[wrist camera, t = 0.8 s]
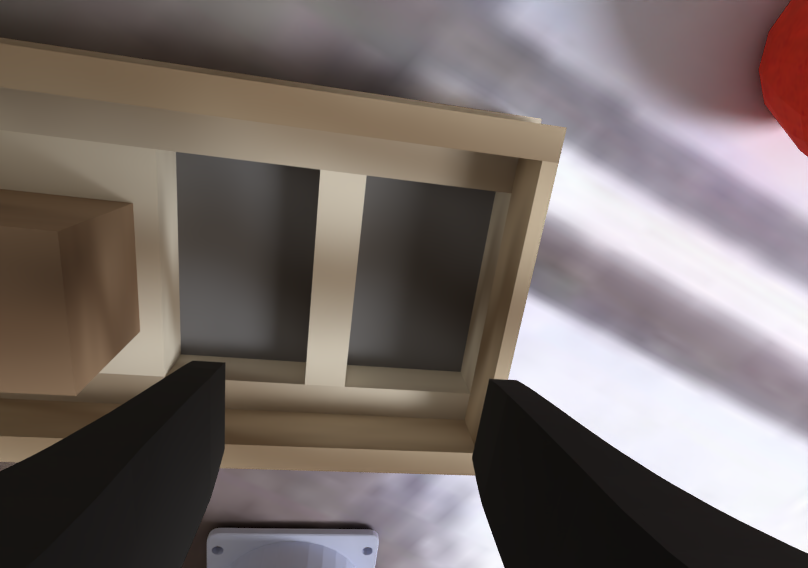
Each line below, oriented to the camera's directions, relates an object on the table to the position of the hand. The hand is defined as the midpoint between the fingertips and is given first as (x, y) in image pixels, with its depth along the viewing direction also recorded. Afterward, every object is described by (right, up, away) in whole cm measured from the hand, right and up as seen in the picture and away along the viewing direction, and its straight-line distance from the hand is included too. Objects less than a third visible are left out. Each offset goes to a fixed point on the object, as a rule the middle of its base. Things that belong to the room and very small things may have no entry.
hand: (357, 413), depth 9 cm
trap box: (-7, +4, +8) cm, 11 cm away
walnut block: (-10, +3, +6) cm, 12 cm away
